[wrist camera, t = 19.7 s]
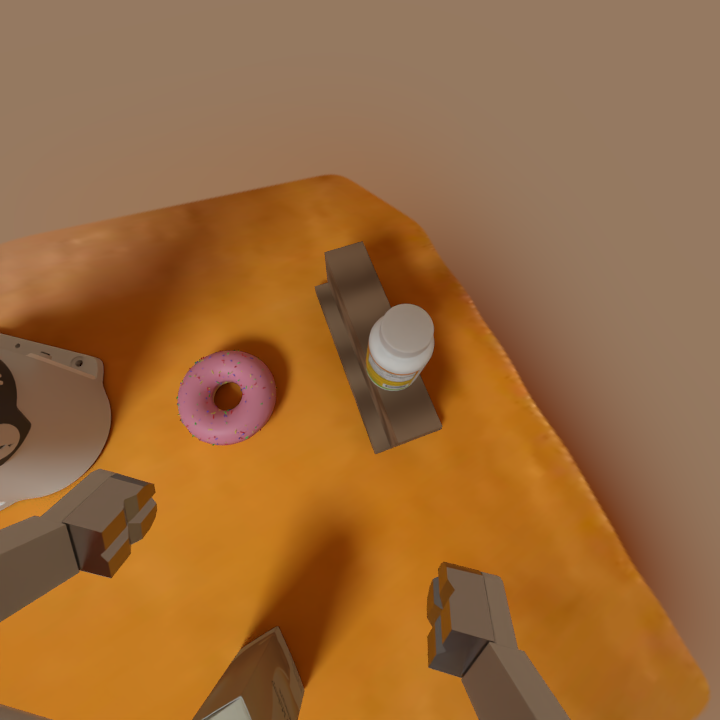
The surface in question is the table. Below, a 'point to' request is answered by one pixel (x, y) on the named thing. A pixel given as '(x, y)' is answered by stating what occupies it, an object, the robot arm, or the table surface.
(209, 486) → the table surface
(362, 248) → the beam
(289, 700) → the skincare box
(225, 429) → the doughnut
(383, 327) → the supplement bottle
